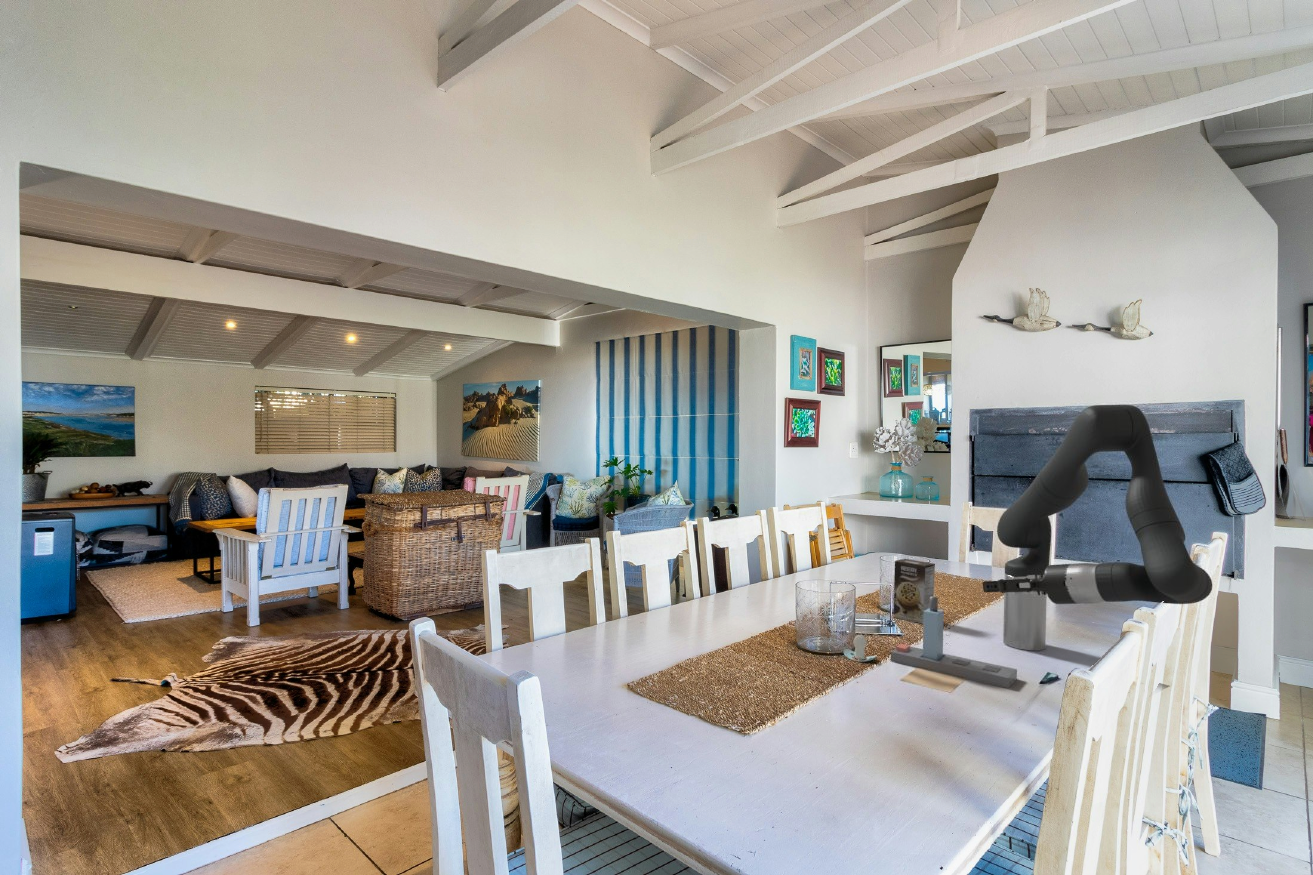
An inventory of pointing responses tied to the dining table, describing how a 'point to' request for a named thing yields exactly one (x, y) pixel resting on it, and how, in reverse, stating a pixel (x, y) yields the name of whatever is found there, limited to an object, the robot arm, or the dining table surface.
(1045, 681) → the teal triangular wedge
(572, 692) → the dining table surface
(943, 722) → the dining table surface
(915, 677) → the coaster
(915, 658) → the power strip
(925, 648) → the blue-grey pegged block
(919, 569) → the coffee box
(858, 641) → the pacifier
